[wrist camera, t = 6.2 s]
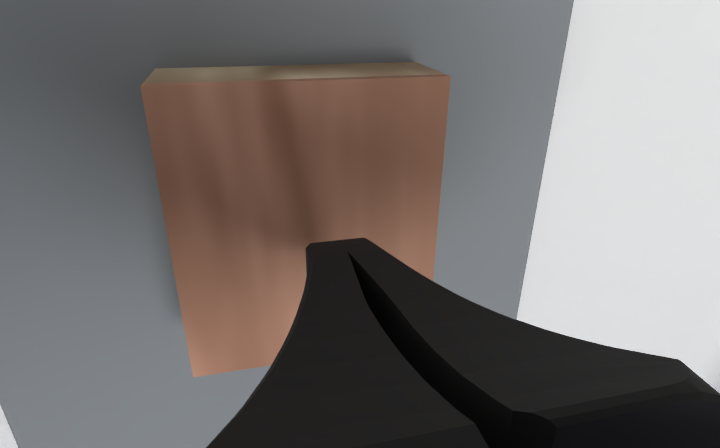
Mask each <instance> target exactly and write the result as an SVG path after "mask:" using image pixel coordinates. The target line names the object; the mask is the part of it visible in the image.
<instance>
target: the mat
mask: <svg viewBox="0 0 720 448" xmlns="http://www.w3.org/2000/svg"><path fill="white" fill-rule="evenodd" d="M573 2H574V0H0V404H1V407H2V409H3V412H4V414H5V416H6V419H7V421H8V424H9V426H10V428H11V431H12V433H13V436H14V438H15V440H16V443H17V445H18V448H206V447H207V446H208V445H209V444H210V443H211V442H212V440H213V439H214V438H215V437H216V436H217V435H218V434H219V433H220V432H221V430H222V429H223V428H224V427H225V426H226V425H227V424H228V423H229V422H230V421H231V419H232V418H233V417H234V416H235V415H236V414H237V413H238V411H239V410H240V409H241V408H242V406H243V405H244V404H245V402H246V401H247V400H248V398H249V397H250V395H251V394H252V393H253V391H254V390H255V389H256V387H257V386H258V384H259V383H260V382H261V380H262V379H263V378H264V376H265V374H266V373H267V371H268V370H269V368H270V367H271V365H269V366H263V367H257V368H250V369H244V370H237V371H231V372H224V373H218V374H212V375H205V376H199V377H193V374H192V369H191V363H190V358H189V352H188V347H187V341H186V336H185V330H184V325H183V319H182V314H181V308H180V303H179V297H178V292H177V286H176V281H175V275H174V270H173V264H172V258H171V253H170V247H169V242H168V236H167V231H166V225H165V220H164V214H163V209H162V203H161V198H160V192H159V187H158V181H157V176H156V170H155V165H154V159H153V154H152V148H151V143H150V137H149V131H148V126H147V120H146V115H145V109H144V104H143V98H142V93H141V87H140V86H141V85H142V84H143V82H144V81H145V80H146V79H147V78H148V77H149V75H150V74H151V73H152V72H153V71H154V69H155V68H192V67H232V66H272V65H311V64H351V63H391V62H417V63H420V64H422V65H425V66H427V67H430V68H432V69H434V70H437V71H439V72H442V73H444V74H447V75H449V76H451V79H450V91H449V102H448V114H447V126H446V137H445V149H444V160H443V172H442V183H441V195H440V206H439V218H438V229H437V241H436V252H435V264H434V276H433V282H435V283H437V284H439V285H441V286H442V287H444V288H446V289H448V290H450V291H452V292H453V293H455V294H457V295H459V296H461V297H463V298H465V299H467V300H470V301H472V302H474V303H476V304H479V305H481V306H483V307H485V308H488V309H490V310H492V311H495V312H497V313H499V314H502V315H505V316H507V317H510V318H512V319H515V320H516V318H517V312H518V307H519V301H520V296H521V290H522V285H523V279H524V273H525V268H526V262H527V257H528V251H529V246H530V240H531V235H532V229H533V224H534V218H535V212H536V207H537V201H538V196H539V190H540V185H541V179H542V174H543V168H544V163H545V157H546V151H547V146H548V140H549V135H550V129H551V124H552V118H553V113H554V107H555V102H556V96H557V90H558V85H559V79H560V74H561V68H562V63H563V57H564V52H565V46H566V41H567V35H568V29H569V24H570V18H571V13H572V7H573Z"/></svg>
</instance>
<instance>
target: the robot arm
mask: <svg viewBox="0 0 720 448" xmlns="http://www.w3.org/2000/svg"><path fill="white" fill-rule="evenodd" d="M305 250H306V273H307V277H306V282H305V287H304V291H303V295H302V298H301V301H300V304H299V307H298V310H297V313H296V316H295V319H294V321H293V324H292V326H291V328H290V331H289V333H288V335H287V337H286V339H285V341H284V343H283V345H282V347H281V349H280V351H279V352H278V354H277V356H276V358H275V360H274V361H273V363H272V365H271V367H270V368H269V370H268V371H267V373H266V374H265V376H264V378H263V379H262V380H261V382H260V383H259V384H258V386H257V387H256V389H255V390H254V391H253V393H252V394H251V395H250V397H249V398H248V400H247V401H246V402H245V404H244V405H243V406H242V408H241V409H240V410H239V411H238V413H237V414H236V415H235V416H234V417H233V418H232V419H231V421H230V422H229V423H228V424H227V425H226V426H225V427H224V428H223V429H222V430H221V432H220V433H219V434H218V435H217V436H216V437H215V438H214V439H213V440H212V442H211V443H210V444H209V445H208V446H207V447H206V448H720V394H719V393H718V392H717V391H716V390H715V389H713V388H712V387H711V386H710V385H709V384H707V383H706V382H705V381H704V380H703V379H701V378H700V377H699V376H698V375H697V374H696V373H694V372H693V371H692V370H691V369H690V368H688V367H687V366H686V365H685V364H684V363H682V362H681V361H680V360H678V359H672V358H667V357H662V356H656V355H651V354H645V353H640V352H635V351H629V350H624V349H619V348H613V347H609V346H604V345H600V344H596V343H592V342H588V341H584V340H580V339H576V338H572V337H569V336H565V335H562V334H558V333H555V332H551V331H548V330H545V329H542V328H539V327H536V326H533V325H530V324H527V323H524V322H521V321H518V320H515V319H512V318H510V317H507V316H505V315H502V314H499V313H497V312H495V311H492V310H490V309H488V308H485V307H483V306H481V305H479V304H476V303H474V302H472V301H470V300H467V299H465V298H463V297H461V296H459V295H457V294H455V293H453V292H452V291H450V290H448V289H446V288H444V287H442V286H441V285H439V284H437V283H435V282H433V281H432V280H430V279H428V278H427V277H425V276H423V275H422V274H420V273H418V272H417V271H415V270H414V269H412V268H410V267H409V266H407V265H406V264H404V263H403V262H401V261H400V260H398V259H397V258H395V257H394V256H392V255H391V254H389V253H388V252H386V251H385V250H383V249H382V248H380V247H379V246H377V245H376V244H374V243H373V242H371V241H370V240H368V239H366V238H354V239H345V240H335V241H325V242H316V243H310V244H309V245H308V246H307V247H306V248H305Z"/></svg>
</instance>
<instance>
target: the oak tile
mask: <svg viewBox="0 0 720 448" xmlns="http://www.w3.org/2000/svg"><path fill="white" fill-rule="evenodd" d="M450 79H451V76H449V75H447V74H444V73H442V72H439V71H437V70H434V69H432V68H430V67H427V66H425V65H422V64H420V63H417V62H391V63H351V64H311V65H272V66H232V67H192V68H155V69H154V71H153V72H152V73H151V74H150V75H149V77H148V78H147V79H146V80H145V81H144V82H143V84H142V85H141V86H140V87H141V93H142V98H143V104H144V109H145V115H146V120H147V126H148V131H149V137H150V143H151V148H152V154H153V159H154V165H155V170H156V176H157V181H158V187H159V192H160V198H161V203H162V209H163V214H164V220H165V225H166V231H167V236H168V242H169V247H170V253H171V258H172V264H173V270H174V275H175V281H176V286H177V292H178V297H179V303H180V308H181V314H182V319H183V325H184V330H185V336H186V341H187V347H188V352H189V358H190V363H191V369H192V374H193V377H199V376H205V375H212V374H218V373H224V372H231V371H237V370H244V369H250V368H257V367H263V366H269V365H272V363H273V361H274V360H275V358H276V356H277V354H278V352H279V351H280V349H281V347H282V345H283V343H284V341H285V339H286V337H287V335H288V333H289V331H290V328H291V326H292V324H293V321H294V319H295V316H296V313H297V310H298V307H299V304H300V301H301V298H302V295H303V291H304V287H305V282H306V277H307V273H306V250H305V248H306V247H307V246H308V245H309V244H310V243H316V242H325V241H335V240H345V239H354V238H366V239H368V240H370V241H371V242H373V243H374V244H376V245H377V246H379V247H380V248H382V249H383V250H385V251H386V252H388V253H389V254H391V255H392V256H394V257H395V258H397V259H398V260H400V261H401V262H403V263H404V264H406V265H407V266H409V267H410V268H412V269H414V270H415V271H417V272H418V273H420V274H422V275H423V276H425V277H427V278H428V279H430V280H432V281H433V276H434V264H435V252H436V241H437V229H438V218H439V206H440V195H441V183H442V172H443V160H444V149H445V137H446V126H447V114H448V102H449V91H450Z"/></svg>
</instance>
